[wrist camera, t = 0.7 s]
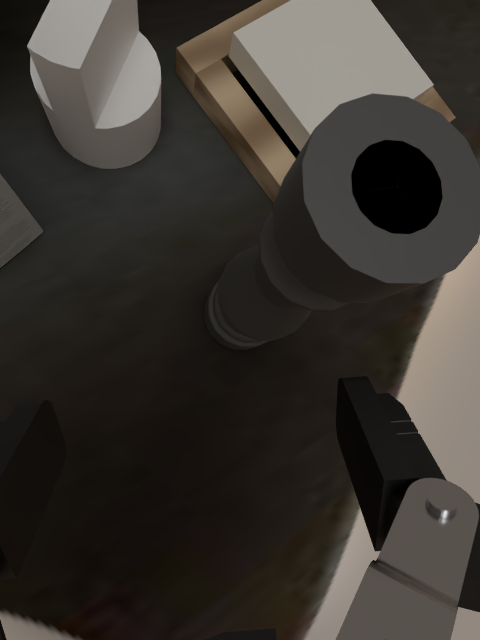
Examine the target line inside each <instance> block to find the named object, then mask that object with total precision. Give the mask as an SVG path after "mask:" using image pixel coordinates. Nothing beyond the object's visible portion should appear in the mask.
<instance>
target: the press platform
mask: <svg viewBox="0 0 480 640" xmlns="http://www.w3.org/2000/svg"><path fill="white" fill-rule="evenodd" d="M229 58H230V59H231V60H232V62H233V63H234V64H235V66H236V67H237V68H238V70H239V71H240V72H241V74H242V75H243V76H244V78H245V79H246V80H247V82H248V83H249V84H250V86H251V87H252V88H253V90H254V91H255V92H256V94H257V95H258V96H259V98H260V99H261V100H262V102H263V103H264V104H265V106H266V107H267V108H268V110H269V111H270V112H271V114H272V115H273V116H274V118H275V119H276V120H277V122H278V123H279V124H280V126H281V127H282V128H283V130H284V131H285V132H286V134H287V135H288V136H289V138H290V139H291V140H292V142H293V143H294V144H295V146H296V147H297V148H298V150H299V151H301V150H302V148H303V147H304V145H305V143H306V142H307V140H308V139H309V137H310V135H311V134H312V132H313V130H314V129H315V128H316V127H317V126H318V125H319V124H320V123H321V122H322V121H323V120H324V119H325V118H326V117H327V116H328V115H329V114H330V113H331V112H332V111H333V110H334V109H335V108H336V107H337V106H338V105H340V104H342V103H345V102H348V101H351V100H354V99H357V98H360V97H363V96H366V95H369V94H372V93H374V94H385V95H395V96H406V97H409V98H411V99H413V100H415V101H417V102H418V101H419V100H420V99H421V98H422V97H423V96H424V95H425V94H426V93H427V92H428V90H429V89H430V88H431V87H432V86H433V83H432V82H431V81H430V79H429V78H428V77H427V75H426V74H425V73H424V71H423V70H422V69H421V67H420V66H419V64H418V63H417V62H416V60H415V59H414V58H413V56H412V55H411V54H410V52H409V51H408V50H407V48H406V47H405V46H404V44H403V43H402V42H401V40H400V39H399V38H398V36H397V35H396V34H395V32H394V31H393V30H392V28H391V27H390V26H389V24H388V23H387V22H386V20H385V19H384V18H383V16H382V15H381V14H380V12H379V11H378V10H377V8H376V7H375V6H374V4H373V3H372V2H371V0H290V1H289V2H287V3H285V4H283V5H281V6H280V7H278V8H276V9H274V10H273V11H271V12H269V13H267V14H265V15H264V16H262V17H260V18H258V19H257V20H255V21H253V22H251V23H249V24H248V25H246V26H244V27H242V28H241V29H239V30H237V31H235V32H233V37H232V41H231V46H230V51H229Z"/></svg>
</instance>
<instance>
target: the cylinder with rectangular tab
mask: <svg viewBox="0 0 480 640" xmlns="http://www.w3.org/2000/svg"><path fill="white" fill-rule="evenodd" d="M27 47H28V50H29V52H30V55H31V57H30V74H31V77H32V80H33V84H34V87H35V90H36V92H37V94H38V97H39V99H40V101H41V103H42V106H43V108H44V110H45V113H46V115H47V117H48V120H49V122H50V124H51V127H52V129H53V131H54V134H55V136H56V137H57V139H58V140H59V142H60V144H61V145H62V147H63V148H64V149H65V150H66V151H67V152H68V153H70V154H71V155H72V156H73V157H74V158H76V159H78V160H79V161H81V162H83V163H85V164H87V165H90V166H94V167H98V168H104V169H117V168H122V167H126V166H130V165H132V164H134V163H136V162H138V161H140V160H142V159H143V158H144V157H145V156H146V155H147V154H148V153H149V152H150V151H151V150H152V149H153V147H154V145H155V144H156V142H157V140H158V137H159V133H160V129H161V68H160V64H159V61H158V58H157V55H156V52H155V50H154V49H153V47H152V46H151V44H150V43H149V41H148V40H147V39H146V38H145V37H144V36H143V35H142V34H141V33H140V32H139V25H138V9H137V0H50V2H49V4H48V6H47V8H46V10H45V12H44V14H43V16H42V18H41V20H40V22H39V24H38V26H37V28H36V30H35V31H34V33H33V35H32V37H31V39H30V41H29V43H28V45H27Z"/></svg>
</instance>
